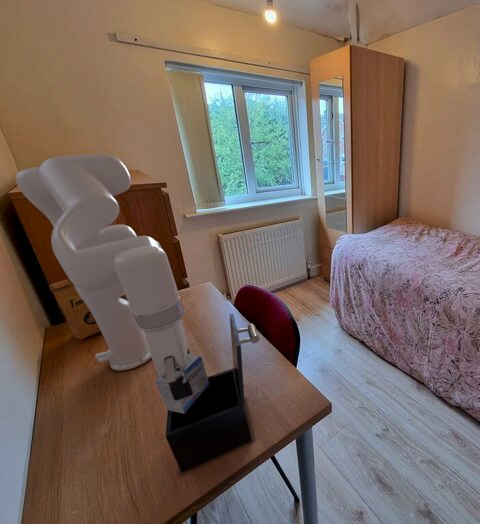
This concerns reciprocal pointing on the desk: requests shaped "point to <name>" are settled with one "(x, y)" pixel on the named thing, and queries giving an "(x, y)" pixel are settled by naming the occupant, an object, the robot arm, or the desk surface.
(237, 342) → the bin lid
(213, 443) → the bin
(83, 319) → the coffee package
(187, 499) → the desk surface
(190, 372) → the medicine box
